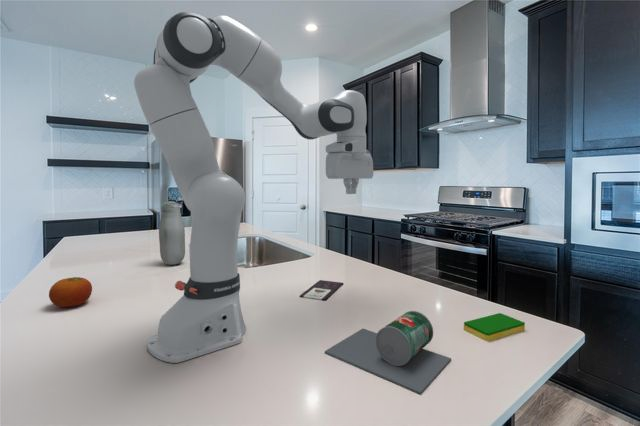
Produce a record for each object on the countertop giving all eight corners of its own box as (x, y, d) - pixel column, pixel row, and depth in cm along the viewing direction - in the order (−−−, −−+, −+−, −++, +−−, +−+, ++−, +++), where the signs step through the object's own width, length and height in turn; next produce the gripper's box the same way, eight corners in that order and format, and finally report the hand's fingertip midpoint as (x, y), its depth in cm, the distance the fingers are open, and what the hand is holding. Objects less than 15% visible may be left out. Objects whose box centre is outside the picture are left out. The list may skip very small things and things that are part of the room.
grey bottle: (165, 262, 155) (162, 200, 152) (188, 261, 156) (185, 200, 153) (157, 267, 145) (153, 202, 142) (182, 266, 146) (179, 201, 143)
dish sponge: (462, 331, 86) (462, 321, 86) (499, 321, 92) (500, 312, 92) (487, 343, 79) (487, 333, 79) (525, 331, 85) (525, 322, 85)
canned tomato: (416, 303, 76) (392, 319, 68) (440, 334, 73) (419, 354, 65) (393, 322, 80) (368, 339, 72) (416, 352, 77) (392, 373, 69)
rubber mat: (420, 394, 60) (420, 392, 60) (324, 353, 74) (324, 351, 74) (451, 360, 71) (451, 358, 71) (362, 329, 86) (362, 328, 86)
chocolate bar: (343, 282, 122) (325, 299, 106) (343, 285, 123) (325, 302, 106) (320, 280, 126) (299, 295, 109) (320, 282, 126) (299, 298, 109)
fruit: (41, 308, 100) (39, 282, 99) (77, 297, 109) (75, 272, 108) (66, 313, 96) (64, 286, 95) (101, 301, 106) (99, 276, 105)
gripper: (361, 150, 112) (361, 192, 113) (321, 146, 97) (321, 194, 98) (378, 149, 108) (377, 193, 109) (339, 144, 93) (339, 195, 94)
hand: (351, 194), depth 104 cm, fingers closed
